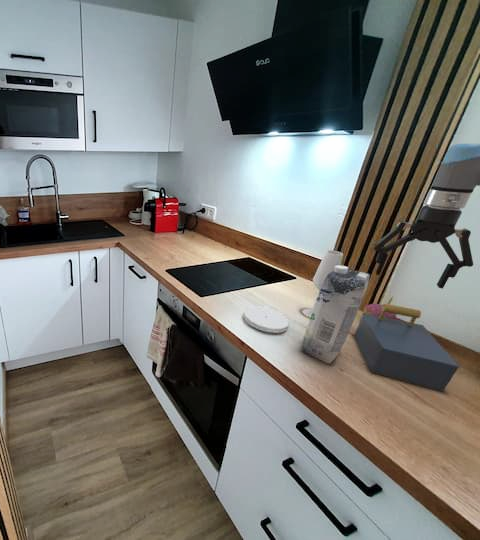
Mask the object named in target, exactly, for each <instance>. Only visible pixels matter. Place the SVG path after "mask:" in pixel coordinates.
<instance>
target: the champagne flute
mask: <svg viewBox="0 0 480 540" xmlns="http://www.w3.org/2000/svg"><path fill="white" fill-rule="evenodd" d="M343 257H344V253H343V252H340V251H337V250H333V249H332V250H330V249H327V250H325V252H324V254H323V257H322V259H321V260H320V263H319V265H318V267H317V270H316V272H315V274H314V276H313V278H312V283H313V286H314V287H315V288H316V289H317V294H316V298H315V301H314V303H313V306H312V308H306V309H305V308H304V309H302V311H301V312H302V314H303V315H304V316H305V317H307V318H309V319H310V318H311V315H312V312H313V309H314V306H315V303H316V300H317V298H318V295H319V292H320V289H321V287H322V284H323V282H324V280H325V278H326V277H327V275H328V274H329V273H330V272H332V271H333V269H334V268H335V266H337V265H339V266H341V265H342V260H343Z"/></svg>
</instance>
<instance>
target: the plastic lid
mask: <svg viewBox="0 0 480 540" xmlns="http://www.w3.org/2000/svg"><path fill="white" fill-rule="evenodd" d="M243 319H244V321H245V322H246V323H247V324H248V325H250V326H251V327H253V328H255V329H257V330H259V331H262V332H266V333H274V334H275V333H276V334H280V333H284V332H286V331H287V330H288V328H289V325H290V320H289V319H288V317H287V316H286V315H284V313H281V312H280V311H278V310H276V309H273V308H270V307H266V306H259V305H252V306H248V307H247V308H245V309H244V311H243Z"/></svg>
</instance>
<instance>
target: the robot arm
mask: <svg viewBox="0 0 480 540" xmlns="http://www.w3.org/2000/svg"><path fill="white" fill-rule="evenodd" d="M477 186H478V187H480V143H456V144H453V145H451V146H450V147H449V149H448V150H447V152H446V154H445V156H444V158H443V160H442V161H441V162H440V165H439V168H438V170H437V173H436V175H435V177H434V179H433V182H432V184H431V186H430V188H429V191H428V192H427V195H426V197H425V199H424V201H423V206H421V208H420V210H419V212H418V214H417V217H416V219H415V220H414V222H413V223H411V222H407V221H405V220H399V221H398V223H397V224H396V226H395V227H394V228H393V229H392V230H391V231H389V232H388V233H386V235H385V236H383V237H382V238H380V240H378V241H377V242H376V243H375V244H374V245H372V248H373V250H374V251H376V252H378V254H377V256H376V259H375V263H376V264H377V268H376V269H375V275H376V276H380V275H381V272H382V271H383V269H384V266H385V264H386V261H387V259H388V256H389V252H391V251H393V250H395V249H397V248H398V247H401V246H404V245H406V244H407V243H409V242H412V241H414V240H418V241H419V242H427V243H431V244H432V243H433V244H435V243H439V244H440V245H441V247H442V248H443V250H444V251H445V253H446V255H447V256H448V258H449V259H450V261H451V263H447V264H446V267H445V268H444V270H443V271H442V274H441V276H440V278H438V281H437V283H436V286H437V288H438V289H442V290H443V289H444V287H445V285H446V284H447V282H448V280H449V278H451V279H453V278H455V277H456V276H457V274H458V272H459V271H460V269H462V268H463V267H468V268H470V267H473V266H474V261H473V260H474V259H473V256H472V251H471V244H470V240H469V239H470V236H471V234H472V232H471V230H470V229H468V228H462V229H459V228H456V225H457V223H458V222H459V219H460V218H461V215H462V213H463V211H462V209H464V208H465V207H466V205H467V203H468V201H469V199H470V198H471V196H472V193H473V192H474V190H475V188H476V187H477ZM408 228H409V229H410V230H411V232H409V233H408V234H406V235H404V236H402V237H401V238H399V239H397V240H394V241H393V242H391V243H389V242H390V241H391V240H392V239H394V238H395V237H396V236H398V235H400V233H401V232H402V231H406V230H407V229H408ZM454 234H455V236H456V237H457V238H458V241H459V242H458V243H459V247H460V252H461V256H462V260H460V259H459V257H458V256H457V254H456V253H455V251H454V249H453V248H452V246H451V244H450V243H449V241H448V239H447V238H450V236H453V235H454ZM387 243H388V244H387Z"/></svg>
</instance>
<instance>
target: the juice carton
mask: <svg viewBox="0 0 480 540" xmlns="http://www.w3.org/2000/svg"><path fill="white" fill-rule="evenodd" d="M370 276H371V274H370V273H367V272H364V271H360V270H356V269H352V268H349V267H348V266H346V265H342V264H341V265H340V266H339V265H337V266H335V268H334V269H333V271H332V272H330V273H329V274H328V275H327V277H326V278H325V280H324V282H323V284H322V287H321V289H320V292H319V291H318V292H319V295H318V294H317V295H318V298H317V300H316V299H315V300H316V303H315V302H314V303H315V306H314V305H313V306H314V309H313V308H312V309H313V312H312V315H311V318H310V317H309V321H308V323H307V326H306V328H305V332H304V335H303V339H302V345H301V351H302V353H304V354H306V355H308V356H310V357H313V358H316V359H317V360H319V361H322V362H324V363H326V364H332V362H333V361H334V360H335V359H336V357H338V355H339V353H340V352H341V350H342V348H343V346H344V345H345V342H346V341H347V337H348V335H349V333H350V331H351V328H352V326H353V324H354V321H355V319H356V316H357V314H358V311H359V309H360V307H361V304H362V302H363V300H364V298H365V295H366V293H367V289H368V286H369V282H370Z"/></svg>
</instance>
